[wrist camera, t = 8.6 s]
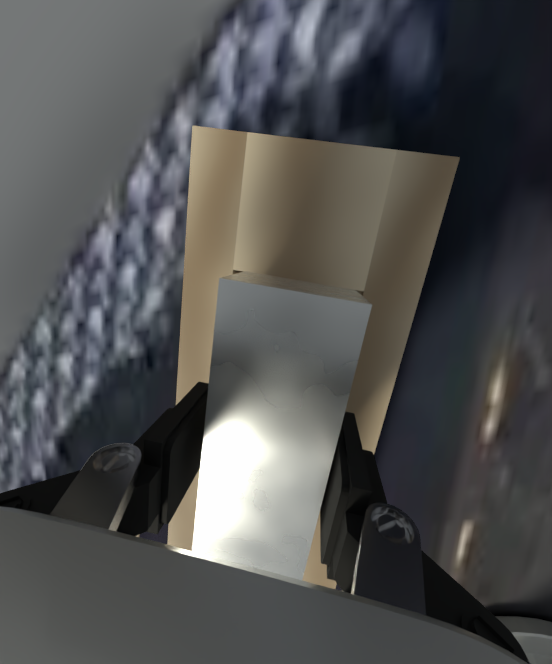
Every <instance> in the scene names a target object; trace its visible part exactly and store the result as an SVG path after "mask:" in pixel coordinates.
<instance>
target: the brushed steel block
mask: <svg viewBox="0 0 552 664" xmlns="http://www.w3.org/2000/svg"><path fill="white" fill-rule="evenodd" d="M371 308H372V304H371V303H370V302H369V301H368V300H366V299H365V298H364V297H363V296H362V295H361V294H360V293H359V292H357V291H356V290H352V289H346V288H340V287H334V286H329V285H323V284H317V283H311V282H305V281H299V280H294V279H288V278H282V277H276V276H270V275H264V274H259V273H253V272H247V271H244V272H240V273H237V274H233V275H229V276H225V277H221V278H219V285H218V295H217V305H216V315H215V325H214V335H213V345H212V355H211V365H210V375H209V385H208V395H207V405H206V415H205V425H204V435H203V445H202V455H201V465H200V475H199V485H198V495H197V505H196V515H195V525H194V535H193V545H192V551H193V552H197V553H201V554H205V555H209V556H213V557H216V558H220V559H224V560H228V561H231V562H235V563H239V564H243V565H246V566H250V567H254V568H258V569H262V570H265V571H269V572H273V573H276V574H280V575H284V576H288V577H291V578H295V579H299V580H302V579H303V575H304V571H305V568H306V564H307V560H308V556H309V552H310V548H311V544H312V540H313V536H314V532H315V528H316V524H317V520H318V516H319V512H320V508H321V505H322V501H323V497H324V493H325V489H326V485H327V481H328V477H329V473H330V469H331V465H332V461H333V457H334V453H335V449H336V445H337V442H338V438H339V434H340V430H341V426H342V422H343V418H344V414H345V410H346V406H347V402H348V398H349V394H350V390H351V386H352V382H353V379H354V375H355V371H356V367H357V363H358V359H359V355H360V351H361V347H362V343H363V339H364V335H365V331H366V327H367V323H368V319H369V316H370V312H371Z"/></svg>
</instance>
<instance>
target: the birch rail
mask: <svg viewBox="0 0 552 664" xmlns="http://www.w3.org/2000/svg"><path fill="white" fill-rule="evenodd" d="M459 159H460V157H453V156H445V155H436V154H428V153H419V152H411V151H402V150H394V149H385V148H377V147H368V146H360V145H351V144H343V143H335V142H326V141H318V140H309V139H301V138H292V137H284V136H275V135H267V134H258V133H250V132H241V131H233V130H225V129H216V128H208V127H199V126H193V127H192V144H191V160H190V177H189V194H188V211H187V227H186V244H185V261H184V278H183V294H182V311H181V328H180V344H179V361H178V378H177V395H176V405H177V404H178V403H179V402H180V401H181V400H182V398H183V397H184V396H185V395H186V394H187V393H188V392H189V391H190V390H191V389H192V388H193V387H194V386H195V385H196V384H197V383H198V382H204V383H209V375H210V365H211V355H212V345H213V335H214V325H215V315H216V305H217V295H218V285H219V278H221V277H225V276H229V275H233V274H237V273H240V272H244V271H247V272H253V273H259V274H264V275H270V276H276V277H282V278H288V279H294V280H299V281H305V282H311V283H317V284H323V285H329V286H334V287H340V288H346V289H352V290H356V291H357V292H359V293H360V294H361V295H362V296H363V297H364V298H365V299H366V300H368V301H369V302H370V303H371V304H372V308H371V312H370V316H369V319H368V323H367V327H366V331H365V335H364V339H363V343H362V347H361V351H360V355H359V359H358V363H357V367H356V371H355V375H354V379H353V382H352V386H351V390H350V394H349V398H348V402H347V406H346V410H345V412H350V413H354V414H355V418H356V423H357V427H358V431H359V436H360V440H361V444H362V449H363V450H368V451H372V452H373V454H374V453H375V449H376V446H377V442H378V439H379V436H380V432H381V429H382V425H383V422H384V418H385V415H386V411H387V408H388V404H389V401H390V397H391V394H392V391H393V387H394V384H395V380H396V377H397V373H398V370H399V366H400V363H401V359H402V356H403V353H404V349H405V346H406V342H407V339H408V335H409V332H410V328H411V325H412V321H413V318H414V315H415V311H416V308H417V304H418V301H419V297H420V294H421V290H422V287H423V283H424V280H425V276H426V273H427V270H428V266H429V263H430V259H431V256H432V252H433V249H434V245H435V242H436V238H437V235H438V232H439V228H440V225H441V221H442V218H443V214H444V211H445V207H446V204H447V200H448V197H449V194H450V190H451V187H452V183H453V180H454V176H455V173H456V169H457V166H458V162H459ZM199 475H200V469H199V471H198V472H197V474H196V476H195V478H194V480H193V481H192V483H191V485H190V487H189V489H188V490H187V492H186V494H185V496H184V498H183V499H182V501H181V503H180V505H179V507H178V508H177V510H176V512H175V514H174V516H173V517H172V519H171V521H170V522H169V528H168V545H171V546H174V547H178V548H182V549H186V550H190V551H192V545H193V535H194V525H195V515H196V505H197V495H198V485H199ZM302 581H306V582H310V583H313V584H317V585H321V586H324V587H328V588H332V589H335V588H336V584H337V583H336V581H334V580H330V579H327V565H325V564H321V552H320V512H319V516H318V520H317V524H316V528H315V532H314V536H313V540H312V544H311V548H310V552H309V556H308V560H307V564H306V568H305V571H304V575H303V579H302Z"/></svg>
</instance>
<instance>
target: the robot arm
mask: <svg viewBox="0 0 552 664" xmlns="http://www.w3.org/2000/svg"><path fill="white" fill-rule="evenodd" d="M208 385H209V383H204V382H198V383H197V384H196V385H195V386H194V387H193V388H192V389H191V390H190V391H189V392H188V393H187V394H186V395H185V396H184V397H183V398H182V400H181V401H180V402H179V403H178V404H177V405H176V406H175V407H174V408H169V409H168V410H166V411H165V412H164V413H163V414H162V415H161V416H160V418H159V419H158V420H157V421H156V422H155V423H154V424H153V425H152V426H151V427H150V428H149V429H148V430H147V431H146V432H145V433H144V434H143V435H142V436H141V437H140V438H139V439H138V440H137V441H136V442H135V443H134V444H133V445H132V444H128V443H116V444H112V445H108V446H105V447H103V448H101V449H99V450H98V451H96V452H94V453H93V454H92V456H91V457H90V458H89V459H88V460H87V462H86V463H85V465H84V466H83V468H82V469H81V470H80V471H76V472H73V473H69V474H66V475H62V476H59V477H55V478H52V479H48V480H45V481H41V482H38V483H35V484H31V485H28V486H24V487H21V488H17V489H14V490H10V491H7V492H4V493H1V494H0V664H552V622H549V621H545V620H541V619H537V618H529V617H521V616H494V615H493V614H492V613H491V612H490V611H489V610H487V609H486V608H485V607H484V606H483V605H482V604H481V603H480V602H479V601H477V600H476V599H475V598H474V597H473V596H472V595H471V594H470V593H469V592H467V591H466V590H465V589H464V588H463V587H462V586H461V585H460V584H459V583H457V582H456V581H455V580H454V579H453V578H452V577H451V576H450V575H448V574H447V573H446V572H445V571H444V570H443V569H442V568H441V567H440V566H438V565H437V564H436V563H435V562H434V561H433V560H432V559H431V558H430V557H428V556H427V555H426V554H425V553H424V552H423V551H422V550H421V539H420V534H419V530H418V528H417V526H416V525H415V523H414V522H413V520H412V519H411V518H410V517H409V516H408V515H407V514H406V513H404V512H403V511H402V510H400V509H399V508H397V507H395V506H393V505H390V504H387V501H386V497H385V494H384V490H383V486H382V483H381V479H380V476H379V472H378V469H377V465H376V461H375V458H374V454H373V452H372V451H368V450H363V449H362V444H361V440H360V436H359V431H358V427H357V423H356V418H355V414H354V413H350V412H345V414H344V418H343V422H342V426H341V430H340V434H339V438H338V442H337V445H336V449H335V453H334V457H333V461H332V465H331V469H330V473H329V477H328V481H327V485H326V489H325V493H324V497H323V501H322V505H321V508H320V552H321V564H325V565H327V579H330V580H334V581H336V583H337V584H338V585H339V586H340V588H341V589H342V591H339V590H336V589H332V588H328V587H324V586H321V585H317V584H313V583H310V582H306V581H302V580H299V579H295V578H291V577H288V576H284V575H280V574H276V573H273V572H269V571H265V570H262V569H258V568H254V567H250V566H246V565H243V564H239V563H235V562H231V561H228V560H224V559H220V558H216V557H213V556H209V555H205V554H201V553H197V552H193V551H190V550H186V549H182V548H178V547H174V546H171V545H167V544H163V543H159V542H155V541H151V540H147V539H143V538H140V537H139V534H141V533H144V532H146V531H147V532H151V533H154V534H158V532H159V531H160V529H161V527H162V526H163V524H164V523H165V524H168V523H169V522H170V521H171V519H172V517H173V516H174V514H175V512H176V510H177V508H178V507H179V505H180V503H181V501H182V499H183V498H184V496H185V494H186V492H187V490H188V489H189V487H190V485H191V483H192V481H193V480H194V478H195V476H196V474H197V472H198V471H199V469H200V465H201V455H202V445H203V435H204V425H205V415H206V405H207V395H208Z"/></svg>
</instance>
